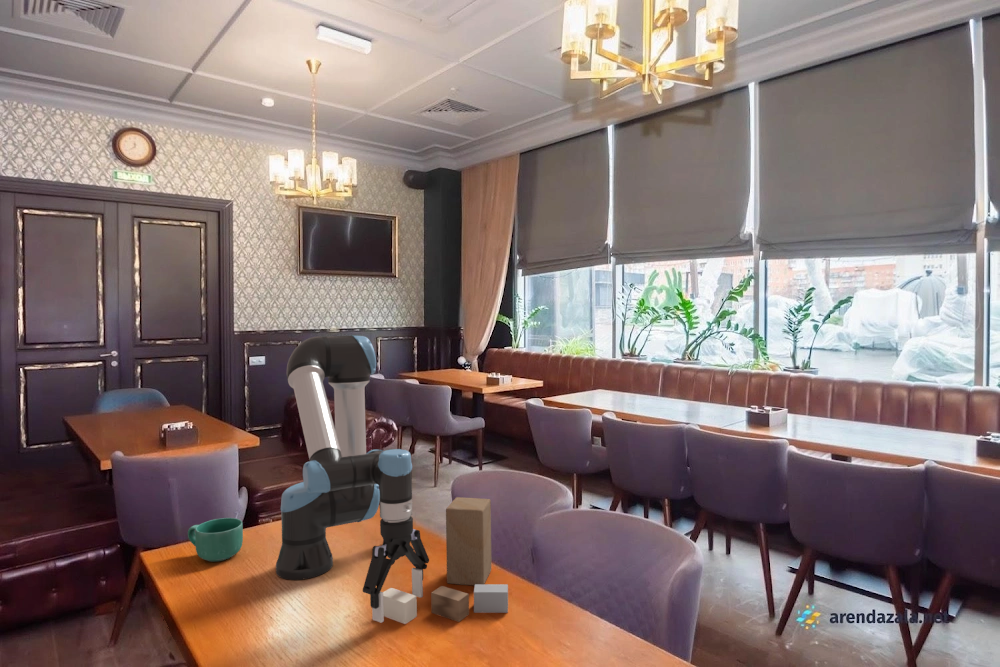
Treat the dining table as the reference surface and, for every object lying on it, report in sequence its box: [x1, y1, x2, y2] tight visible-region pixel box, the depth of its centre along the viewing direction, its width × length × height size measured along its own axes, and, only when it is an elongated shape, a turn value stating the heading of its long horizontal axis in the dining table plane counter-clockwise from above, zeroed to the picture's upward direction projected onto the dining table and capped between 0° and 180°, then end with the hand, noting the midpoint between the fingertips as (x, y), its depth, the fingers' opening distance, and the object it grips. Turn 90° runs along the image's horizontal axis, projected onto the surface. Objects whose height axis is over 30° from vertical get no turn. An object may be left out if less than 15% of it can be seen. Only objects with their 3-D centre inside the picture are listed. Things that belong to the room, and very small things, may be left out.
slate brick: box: [473, 583, 509, 614], centre depth 139 cm, size 8×4×5 cm, turn 88°
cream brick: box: [382, 587, 418, 625], centre depth 136 cm, size 8×4×5 cm, turn 57°
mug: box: [187, 517, 244, 563], centre depth 171 cm, size 17×13×10 cm
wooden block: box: [445, 496, 492, 587], centre depth 155 cm, size 10×10×20 cm
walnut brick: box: [430, 585, 470, 623], centre depth 137 cm, size 8×4×5 cm, turn 58°
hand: (398, 607), depth 136 cm, fingers open, 13 cm apart
